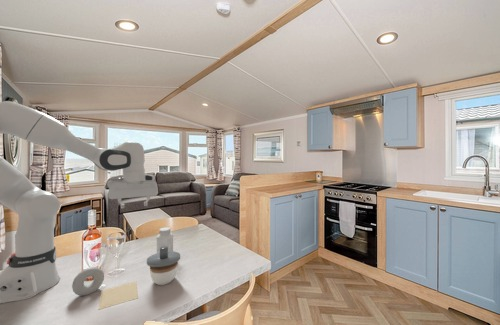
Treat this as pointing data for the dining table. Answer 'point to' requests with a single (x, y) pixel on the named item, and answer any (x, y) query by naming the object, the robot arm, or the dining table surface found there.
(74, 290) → the donut
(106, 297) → the mat
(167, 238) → the pill bottle
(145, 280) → the dining table surface
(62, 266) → the dining table surface
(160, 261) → the lid
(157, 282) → the lidded jar
